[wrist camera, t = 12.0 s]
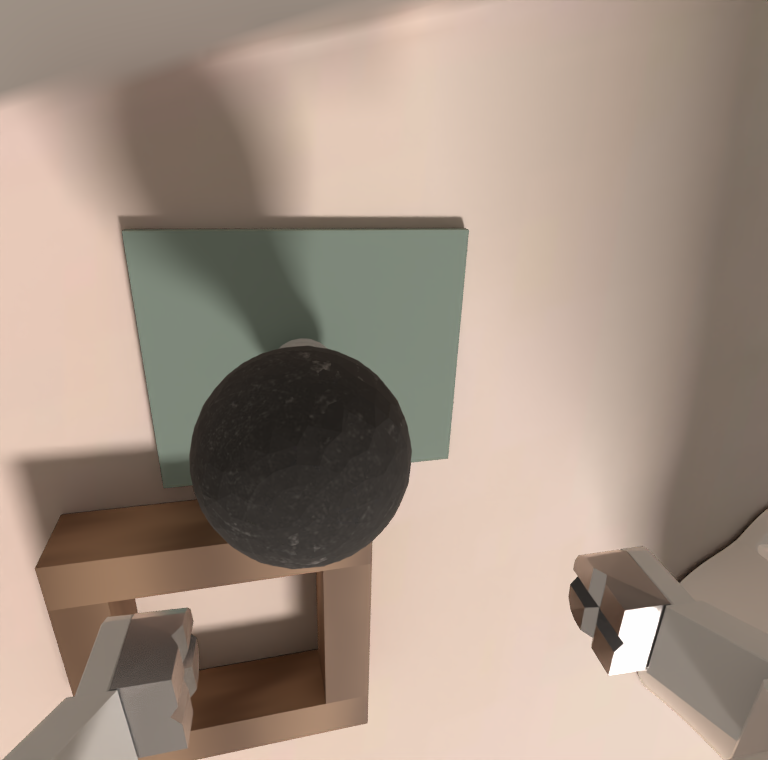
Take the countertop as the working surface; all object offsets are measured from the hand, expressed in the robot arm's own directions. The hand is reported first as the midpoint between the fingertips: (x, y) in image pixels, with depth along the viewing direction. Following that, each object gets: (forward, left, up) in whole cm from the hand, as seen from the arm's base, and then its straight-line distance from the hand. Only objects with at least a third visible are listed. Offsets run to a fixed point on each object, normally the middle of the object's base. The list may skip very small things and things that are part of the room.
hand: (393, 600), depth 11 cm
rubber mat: (0, -1, -12) cm, 12 cm away
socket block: (+4, +11, -12) cm, 17 cm away
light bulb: (+1, -1, -11) cm, 11 cm away
